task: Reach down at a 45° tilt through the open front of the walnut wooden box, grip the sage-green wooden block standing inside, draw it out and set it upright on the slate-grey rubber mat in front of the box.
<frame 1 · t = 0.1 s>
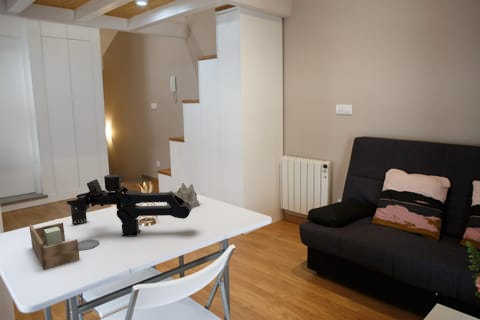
hand: (71, 199, 163), 17 cm above the table, tool horizontal, fingers open, 9 cm apart
grey mat: (86, 245, 154), on the table
miniature castle: (183, 206, 204), on the table
block: (53, 241, 146), in the open box
open box: (55, 253, 147), on the table
battery charger: (80, 223, 180), on the table
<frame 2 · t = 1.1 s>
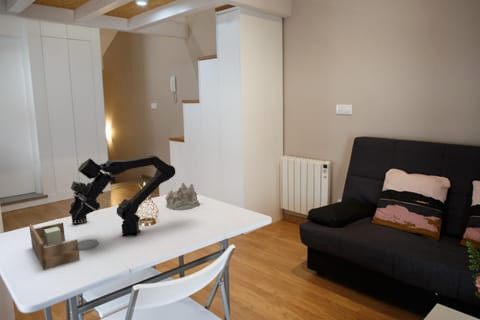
hand: (72, 216, 149), 14 cm above the table, tool tilted 45°, fingers open, 9 cm apart
nothing on the table moved.
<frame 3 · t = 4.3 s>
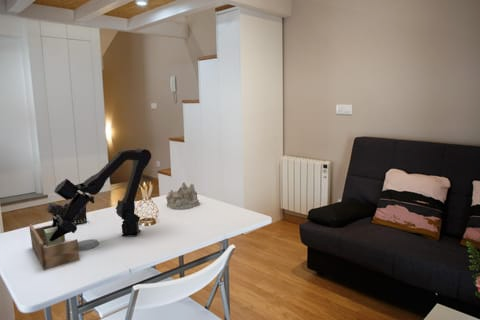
hand: (49, 238, 145), 7 cm above the table, tool tilted 45°, fingers closed on block, 5 cm apart
block: (53, 241, 146), in the open box, touching gripper
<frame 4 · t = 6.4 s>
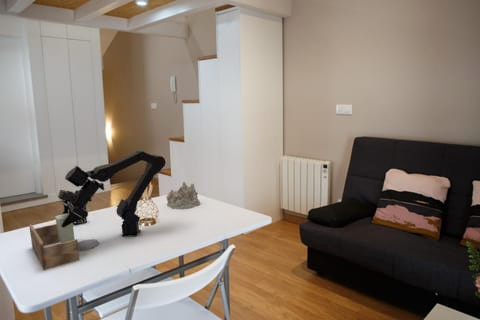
hand: (60, 225, 147), 11 cm above the table, tool tilted 45°, fingers closed on block, 5 cm apart
block: (65, 228, 148), point 10 cm above the table, touching gripper
when the fingers open (8 cm above the table, at t = 8.3 s): block drops 1 cm, resting on grey mat.
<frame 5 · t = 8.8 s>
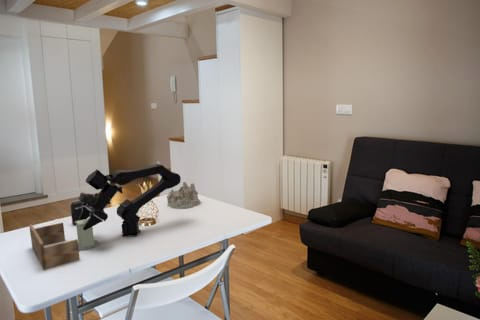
hand: (80, 226, 152), 9 cm above the table, tool tilted 45°, fingers open, 9 cm apart
block: (85, 232, 153), on the grey mat
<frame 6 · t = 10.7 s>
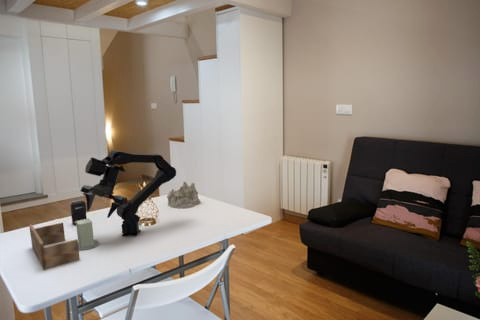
hand: (97, 214, 155), 12 cm above the table, tool tilted 25°, fingers open, 9 cm apart
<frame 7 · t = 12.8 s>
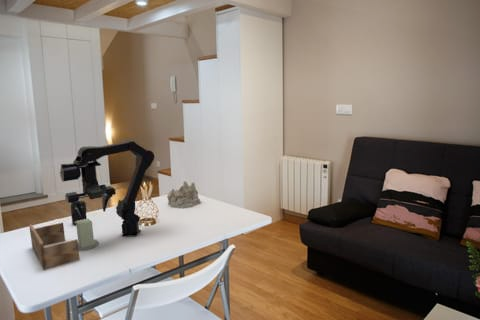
hand: (92, 213, 154), 13 cm above the table, tool pointing down, fingers open, 9 cm apart
at the end: block 0.0 cm from the grey mat (horizontally); block tilted 0°; block touching grey mat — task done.
